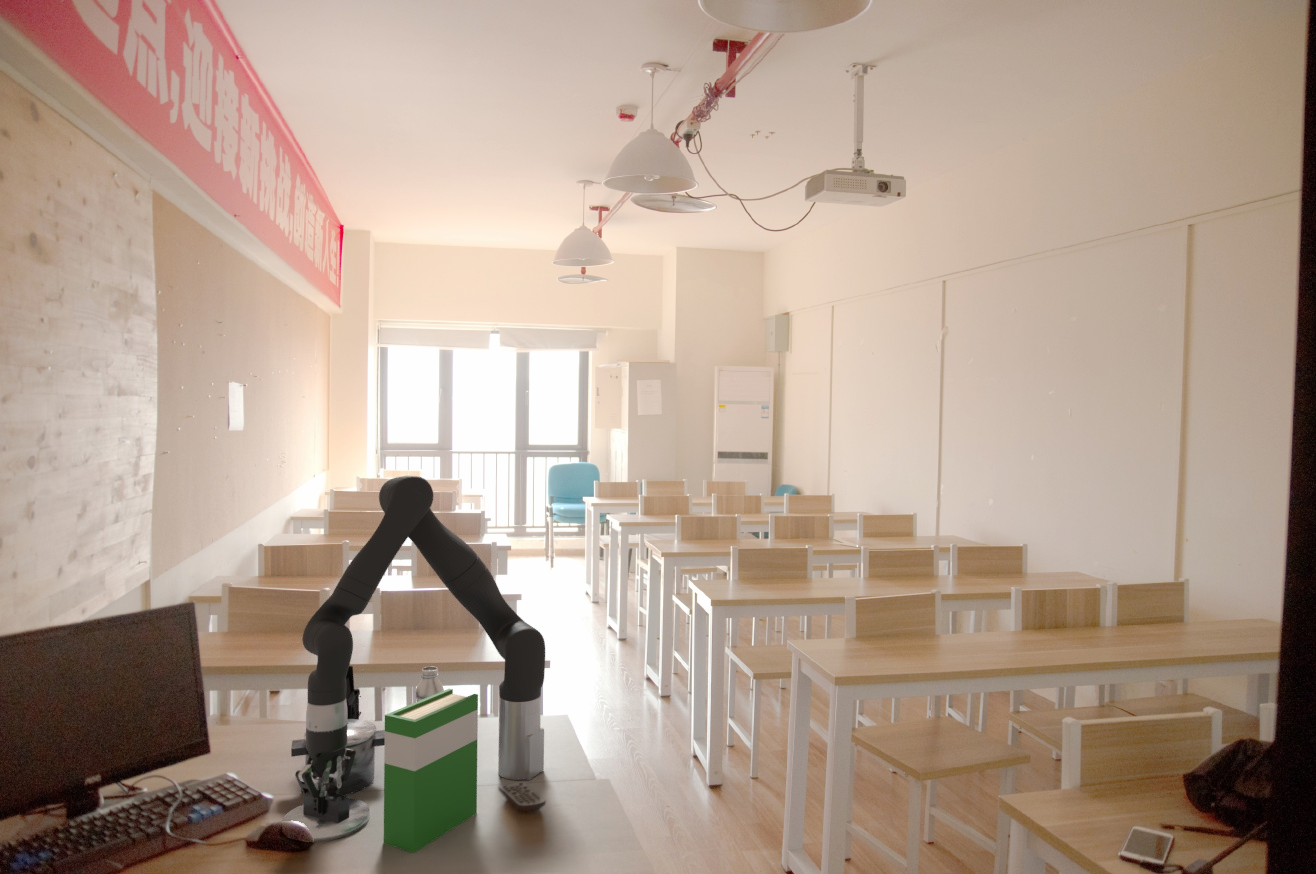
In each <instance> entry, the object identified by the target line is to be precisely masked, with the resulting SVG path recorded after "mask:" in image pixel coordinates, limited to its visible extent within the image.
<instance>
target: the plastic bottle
mask: <svg viewBox="0 0 1316 874" xmlns="http://www.w3.org/2000/svg"><path fill="white" fill-rule="evenodd" d="M438 677H439V667H437V666H425V667H422V668H421V679H420V682H418V684H417V686H416V688H415V692H414V693H415V701H416V702H418V701H420V700H423V699H425V698H428V697H430V696H432V695H435V694H437V693H440V692H442V691H445V689H444V686H443V684H442V683H441V681H440V680H439V678H438Z"/></svg>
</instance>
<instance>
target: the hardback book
mask: <svg viewBox="0 0 1316 874" xmlns="http://www.w3.org/2000/svg"><path fill="white" fill-rule="evenodd" d="M453 690H454V689H452V688H448V689H444V691H442V692H440V693H437V694H435V695H432V696H430V697H428V698H425V699H423V700H420V701H418V702H413V703H409V704H408V705H406V706H404V707H401V708H398V709H396V710H394V711H391V712H389V713H387V714H384V730H385V745H384V746H383V747H384V751H383V753H384V754H383V756H384V758H383V760H384V762H383V765H384V766H383V769H384V770H383V777H384V779H383V844H385V845H387V846H391V847H394V848H396V849H400V850H403V851H406V852H410V853H412V854H415V853H417V852H418V851H420V850H422V849H423V848H424V847H426V846H428V845H429V844H431V843H432V842H433V841H436V840H437V839H439V838H440V837H442V836H443V835H445V834H446V833H448V832H449V831H451V830H453V829H455V828H456V827H457V826H460V825H461V824H462V823H464V822H465V821H467V820H468V819H470V818H472V817H473V816H474V815H476V814H477V812H478V810H477V808H478V805H477V804H478V803H477V802H478V798H477V797H478V796H477V795H478V733H479V732H478V731H479V730H478V723H479V720H478V719H479V718H478V717H479V715H478V713H479V712H478V711H479V694H477V693H473V694H471V695H469V696H464V695H461V694H454V693H453V692H454V691H453Z"/></svg>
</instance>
